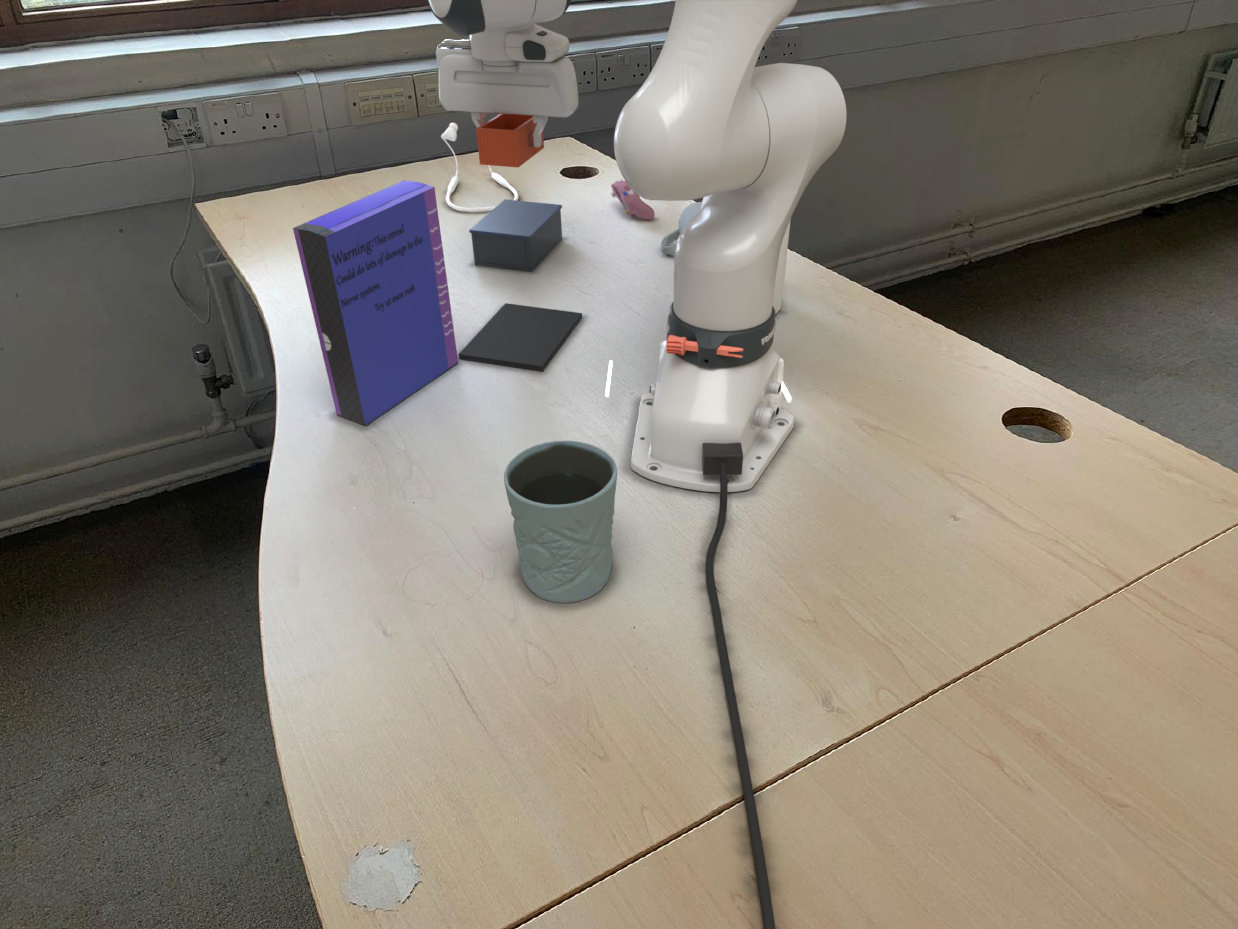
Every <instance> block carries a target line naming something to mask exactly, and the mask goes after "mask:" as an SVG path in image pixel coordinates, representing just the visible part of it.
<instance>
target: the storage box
mask: <svg viewBox="0 0 1238 929" xmlns="http://www.w3.org/2000/svg"><path fill="white" fill-rule="evenodd" d="M495 206H496V207H495V208H494V209H493V210H492V211H488V213H487V214H486V215H484V216H483V217H482V218H481V219H480V220H479V221H478V222H476V223H475V224H474V225H473V226H471V228H470V229H469V230H468V233H469V234H471V235H470V236H471V242H472V252H473V260H474V261H473V262H474V265H475V266H480V267H481V266H482V267H490V268H498V269H506V270H515V271H522V272H530V273H532V272H533V271H535V270H536V268H537V267H538V266H539V265H540V264H541V263H542V262H543V261H544V260H545V258H546V257H547V256H548V255H549V254H550V253H551V252H552V251H553V250H554V249H555V248H556V247H557V246H558V244H559V243H560V242H561V241H562V240H563V228H562V208H563V205H562V204H555V203H548V202H547V203H545V202H536V201H526V200H518V201H517V200H513V199H506V198H505V199H503V200H502V201H501V202H500V203H499V204H497V205H495Z"/></svg>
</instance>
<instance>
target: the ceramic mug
mask: <svg viewBox="0 0 1238 929" xmlns="http://www.w3.org/2000/svg"><path fill="white" fill-rule="evenodd" d="M701 204H702V201H697V202H693V203H691V204H689V205H688V206H686V207H685V208H684V209H683V210H682V211H681V214H680V216H679V219H678V229H676V230H674V231H672V232H670V233H668V234H666V236H665V237H664V238H662V240H661V243H660V247H661V249H662V251H663V253H664V254H665V255H669V256H670V255H675V247H676V243H674V242H676V241H677V240H678V237H679V235H680V234H681V232H682V231H683V229H684V228H685V227H686V225H687V224H688V223H689V222H690V221H691V220H692V219H693V218H694V217H695V216H696V215H697V214H698V213H699V212H700V210H701ZM672 243H674V244H672Z"/></svg>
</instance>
